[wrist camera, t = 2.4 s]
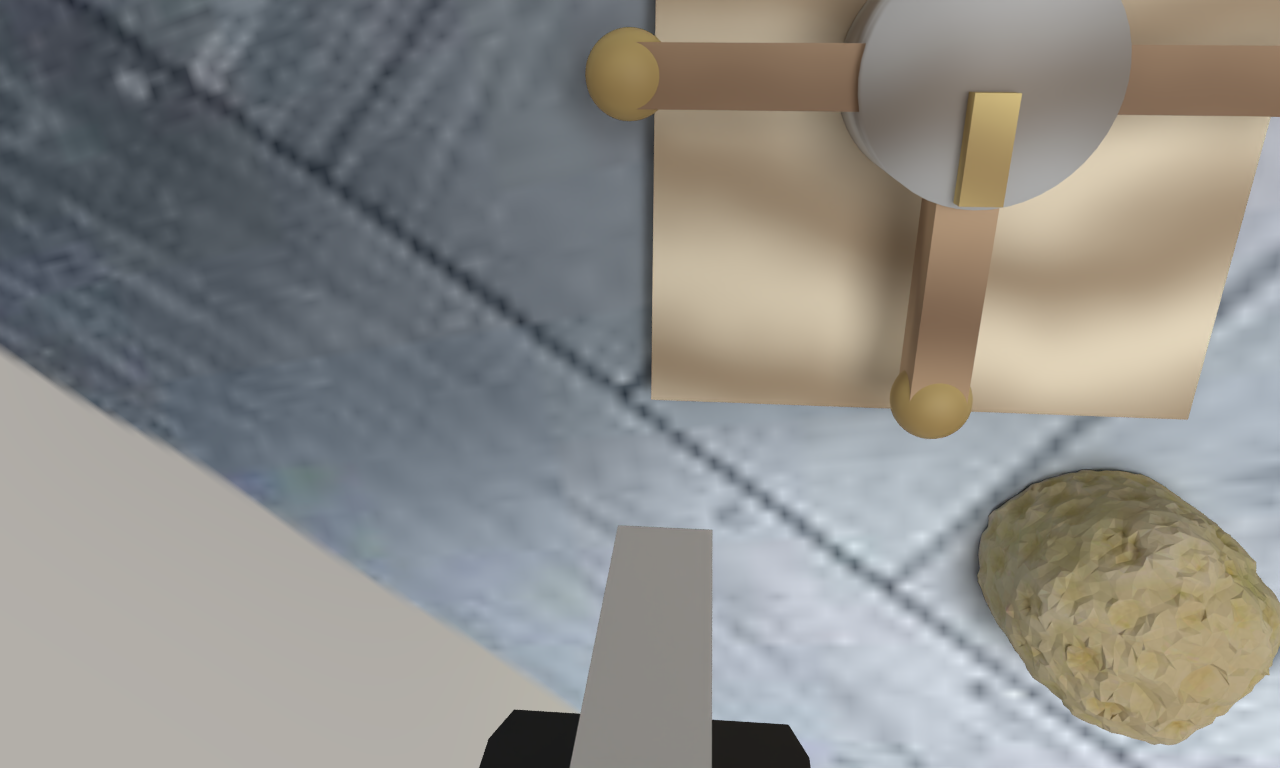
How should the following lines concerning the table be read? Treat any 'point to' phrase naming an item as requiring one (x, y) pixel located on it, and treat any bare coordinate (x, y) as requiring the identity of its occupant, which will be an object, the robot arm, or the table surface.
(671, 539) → the robot arm
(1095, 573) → the decorative object
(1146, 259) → the stand
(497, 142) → the table surface
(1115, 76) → the capstan
